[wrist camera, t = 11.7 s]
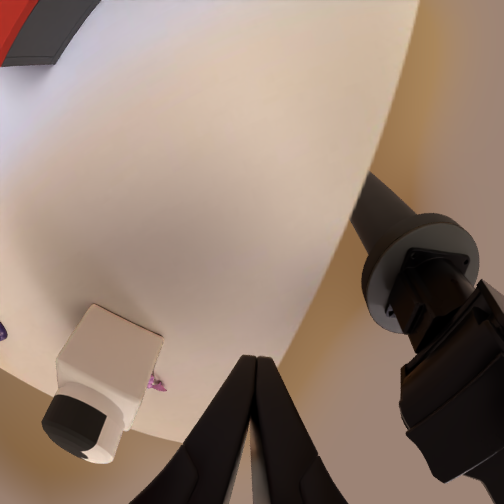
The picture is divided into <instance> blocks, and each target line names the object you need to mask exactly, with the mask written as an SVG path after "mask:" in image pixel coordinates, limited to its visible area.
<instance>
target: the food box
mask: <svg viewBox="0 0 504 504" xmlns="http://www.w3.org/2000/svg"><path fill="white" fill-rule="evenodd" d="M99 2H100V0H39V1H38V2H37V4H36V5H35V7H34V8H33V10H32V11H31V13H30V14H29V16H28V17H27V19H26V21H25V22H24V24H23V26H22V27H21V29H20V31H19V33H18V34H17V36H16V38H15V40H14V42H13V43H12V45H11V47H10V49H9V51H8V53H7V55H6V57H5V59H4V61H3V63H2V65H1V67H8V66H23V65H55V64H56V62H57V60H58V59H59V57H60V55H61V54H62V52H63V51H64V49H65V48H66V46H67V45H68V43H69V42H70V40H71V39H72V37H73V36H74V34H75V33H76V32H77V30H78V29H79V27H80V26H81V25H82V23H83V22H84V21H85V19H86V18H87V17H88V15H89V14H90V13H91V11H92V10H93V9H94V8H95V6H96V5H97V4H98V3H99Z"/></svg>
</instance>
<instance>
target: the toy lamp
mask: <svg viewBox="0 0 504 504" xmlns="http://www.w3.org/2000/svg"><path fill="white" fill-rule="evenodd" d="M6 338H7V332H6V330H5V328H4V326H3V325H2V324H1V322H0V341H2V340H5V339H6Z"/></svg>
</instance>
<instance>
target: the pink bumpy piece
mask: <svg viewBox="0 0 504 504" xmlns="http://www.w3.org/2000/svg"><path fill="white" fill-rule="evenodd" d="M153 379H154V377H153V376H152V374H151V377H150V380H149V383H148V386H147V388H154V389H156V390H159V391H167V390H166V389H165V388H164V387H163V386H162V385H161V382H160V383H159V384H157V385H152V383H153V382H154V380H153Z"/></svg>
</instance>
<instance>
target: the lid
mask: <svg viewBox="0 0 504 504" xmlns="http://www.w3.org/2000/svg"><path fill="white" fill-rule="evenodd" d="M38 1H39V0H0V67H1V65H2V63H3V61H4V59H5V57H6V55H7V53H8V51H9V49H10V47H11V45H12V43H13V42H14V40H15V38H16V36H17V34H18V33H19V31H20V29H21V27H22V26H23V24H24V22H25V21H26V19H27V17H28V16H29V14H30V13H31V11H32V10H33V8H34V7H35V5H36V4H37V2H38Z"/></svg>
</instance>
